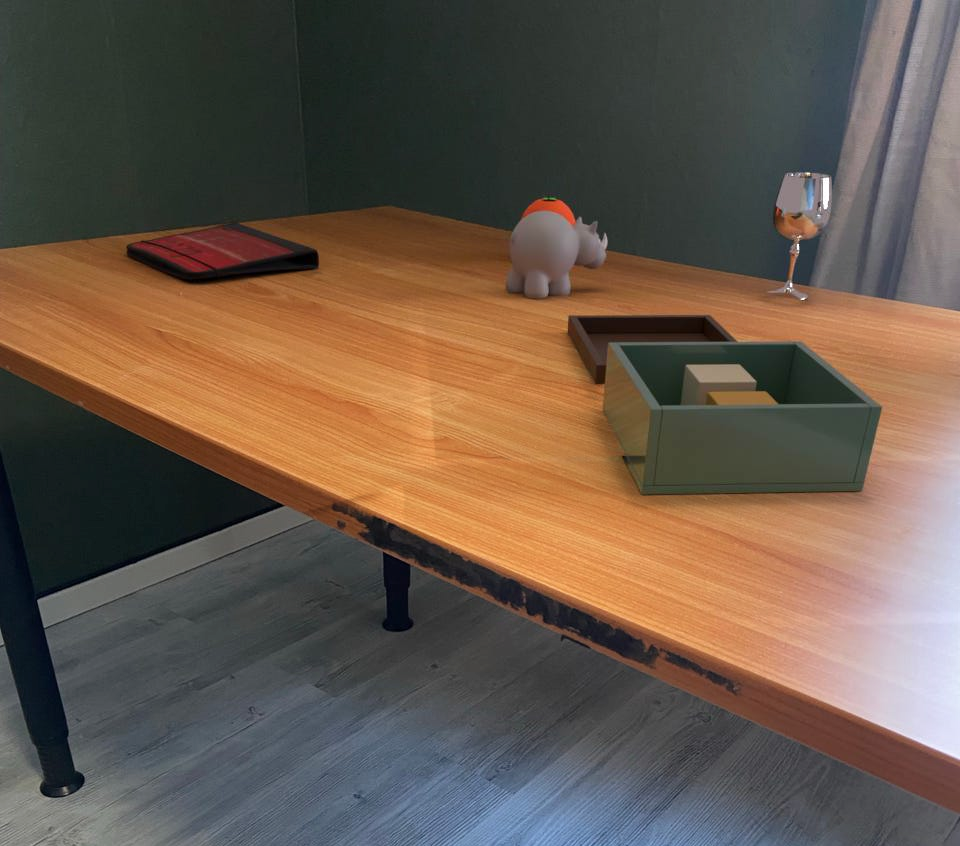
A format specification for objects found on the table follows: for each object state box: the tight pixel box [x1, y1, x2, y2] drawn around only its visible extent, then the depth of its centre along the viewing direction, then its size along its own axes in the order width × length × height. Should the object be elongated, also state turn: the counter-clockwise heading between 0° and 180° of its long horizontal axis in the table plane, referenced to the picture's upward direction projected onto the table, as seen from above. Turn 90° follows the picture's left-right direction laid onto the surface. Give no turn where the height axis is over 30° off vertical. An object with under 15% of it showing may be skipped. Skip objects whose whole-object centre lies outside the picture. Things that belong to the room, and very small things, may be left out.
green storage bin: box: [602, 340, 883, 496], centre depth 68 cm, size 14×14×6 cm
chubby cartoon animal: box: [504, 211, 608, 300], centre depth 105 cm, size 7×12×8 cm, turn 119°
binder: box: [125, 221, 320, 280], centre depth 119 cm, size 16×2×21 cm
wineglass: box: [766, 171, 833, 301], centre depth 105 cm, size 6×6×12 cm
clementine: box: [520, 196, 576, 226], centre depth 122 cm, size 8×7×7 cm
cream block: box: [681, 364, 756, 405], centre depth 70 cm, size 4×4×4 cm
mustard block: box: [706, 391, 778, 405], centre depth 65 cm, size 4×4×4 cm
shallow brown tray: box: [567, 314, 739, 385], centre depth 86 cm, size 13×15×2 cm
